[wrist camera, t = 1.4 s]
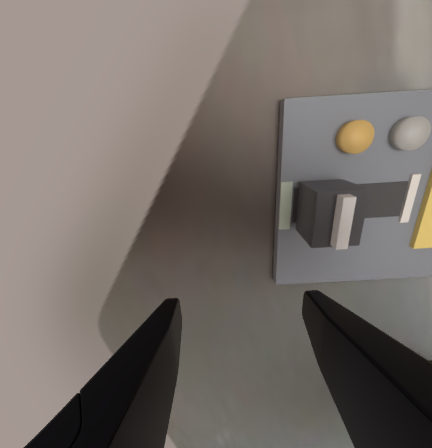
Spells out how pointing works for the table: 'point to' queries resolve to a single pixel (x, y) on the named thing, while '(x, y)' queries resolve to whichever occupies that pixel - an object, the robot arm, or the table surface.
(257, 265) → the table surface
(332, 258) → the panel
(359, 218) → the breaker
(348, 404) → the robot arm
